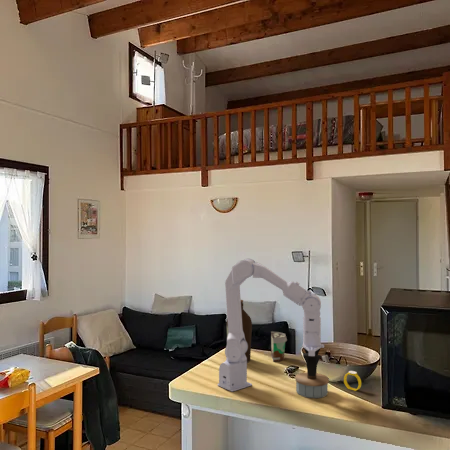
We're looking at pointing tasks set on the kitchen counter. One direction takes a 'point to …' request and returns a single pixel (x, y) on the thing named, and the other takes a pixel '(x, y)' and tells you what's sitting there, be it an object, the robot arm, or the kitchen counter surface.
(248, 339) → the olive oil
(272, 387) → the kitchen counter surface
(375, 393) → the kitchen counter surface
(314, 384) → the lid
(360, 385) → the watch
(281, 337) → the food container
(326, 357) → the lighter
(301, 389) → the bowl
